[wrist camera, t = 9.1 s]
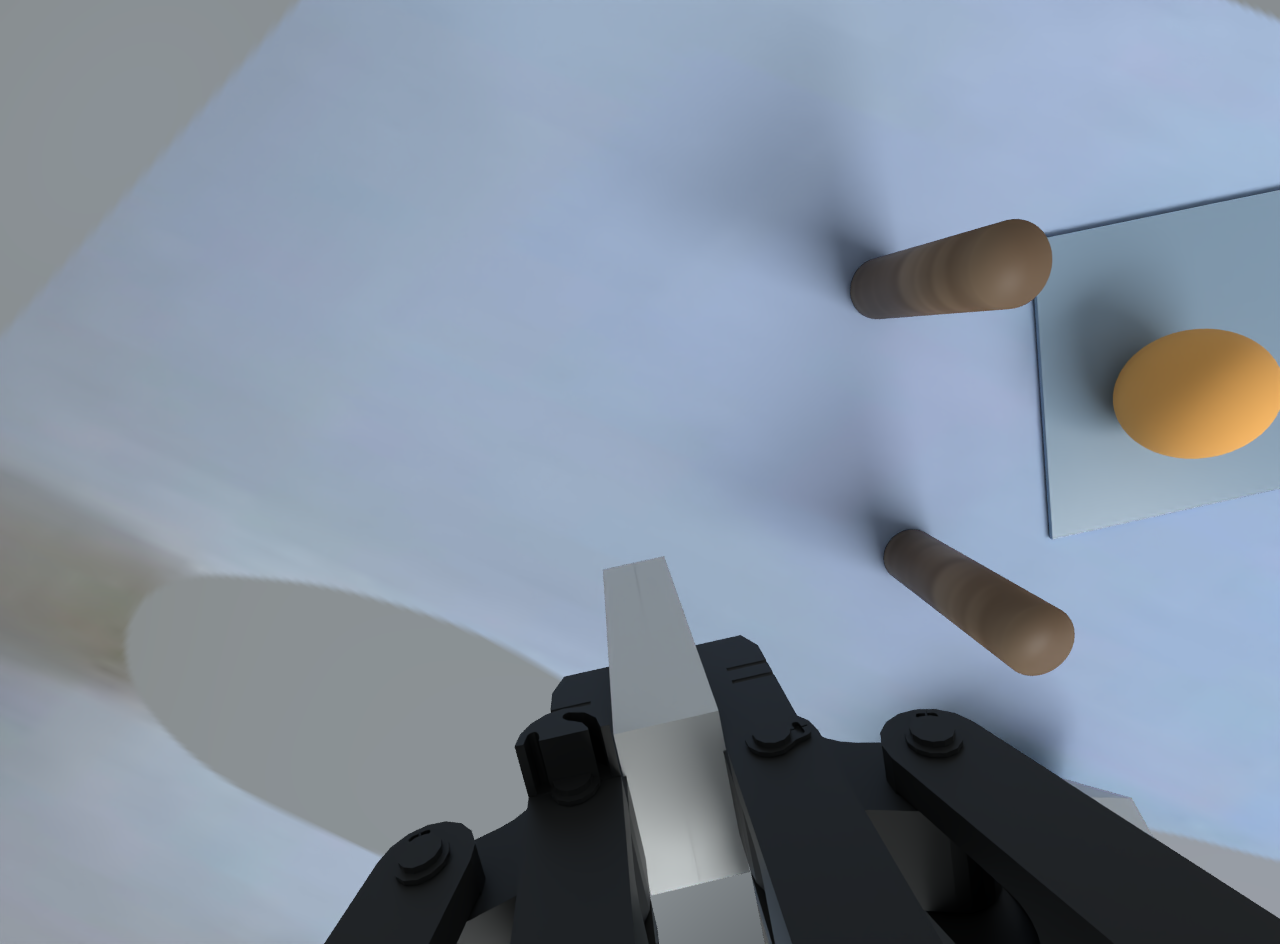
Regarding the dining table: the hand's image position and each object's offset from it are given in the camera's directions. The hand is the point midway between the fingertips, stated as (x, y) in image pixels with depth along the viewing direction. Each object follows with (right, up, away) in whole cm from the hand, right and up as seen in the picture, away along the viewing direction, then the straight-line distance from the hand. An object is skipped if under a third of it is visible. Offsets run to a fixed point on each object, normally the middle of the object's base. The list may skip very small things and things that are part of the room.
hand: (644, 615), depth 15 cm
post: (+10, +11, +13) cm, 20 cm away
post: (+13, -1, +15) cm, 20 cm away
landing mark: (+25, +8, +15) cm, 30 cm away
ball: (+23, +7, +12) cm, 27 cm away
